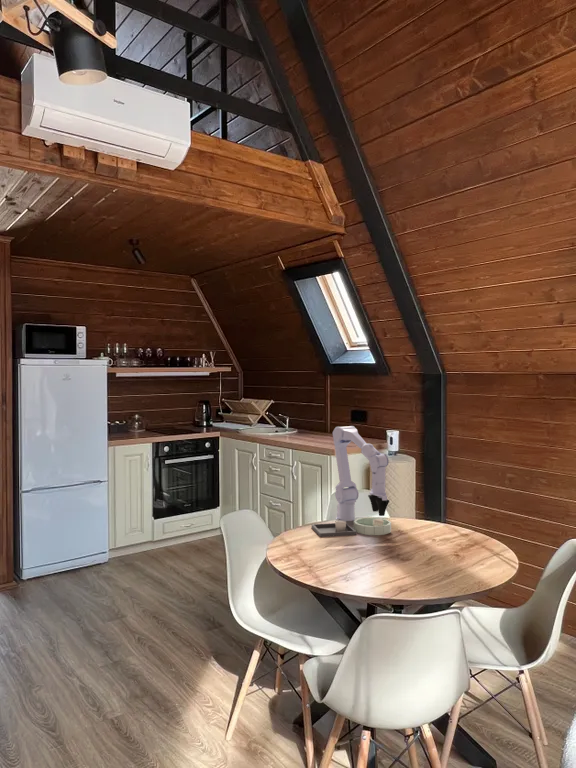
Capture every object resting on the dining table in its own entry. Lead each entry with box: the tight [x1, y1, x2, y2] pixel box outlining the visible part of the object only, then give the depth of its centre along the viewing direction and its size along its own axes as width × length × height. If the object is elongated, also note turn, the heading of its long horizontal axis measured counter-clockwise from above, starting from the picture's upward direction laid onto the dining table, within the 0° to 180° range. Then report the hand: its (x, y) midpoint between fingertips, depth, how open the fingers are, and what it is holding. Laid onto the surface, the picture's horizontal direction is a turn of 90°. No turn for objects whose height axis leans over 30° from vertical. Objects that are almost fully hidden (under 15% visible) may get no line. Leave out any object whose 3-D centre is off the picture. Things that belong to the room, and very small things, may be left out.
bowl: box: [353, 516, 392, 536], centre depth 249 cm, size 16×16×4 cm
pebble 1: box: [334, 519, 347, 532], centre depth 247 cm, size 4×4×4 cm
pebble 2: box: [373, 519, 384, 526], centre depth 249 cm, size 4×4×4 cm
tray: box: [311, 522, 357, 538], centre depth 247 cm, size 15×16×2 cm
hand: (378, 513), depth 249 cm, fingers open, 7 cm apart
